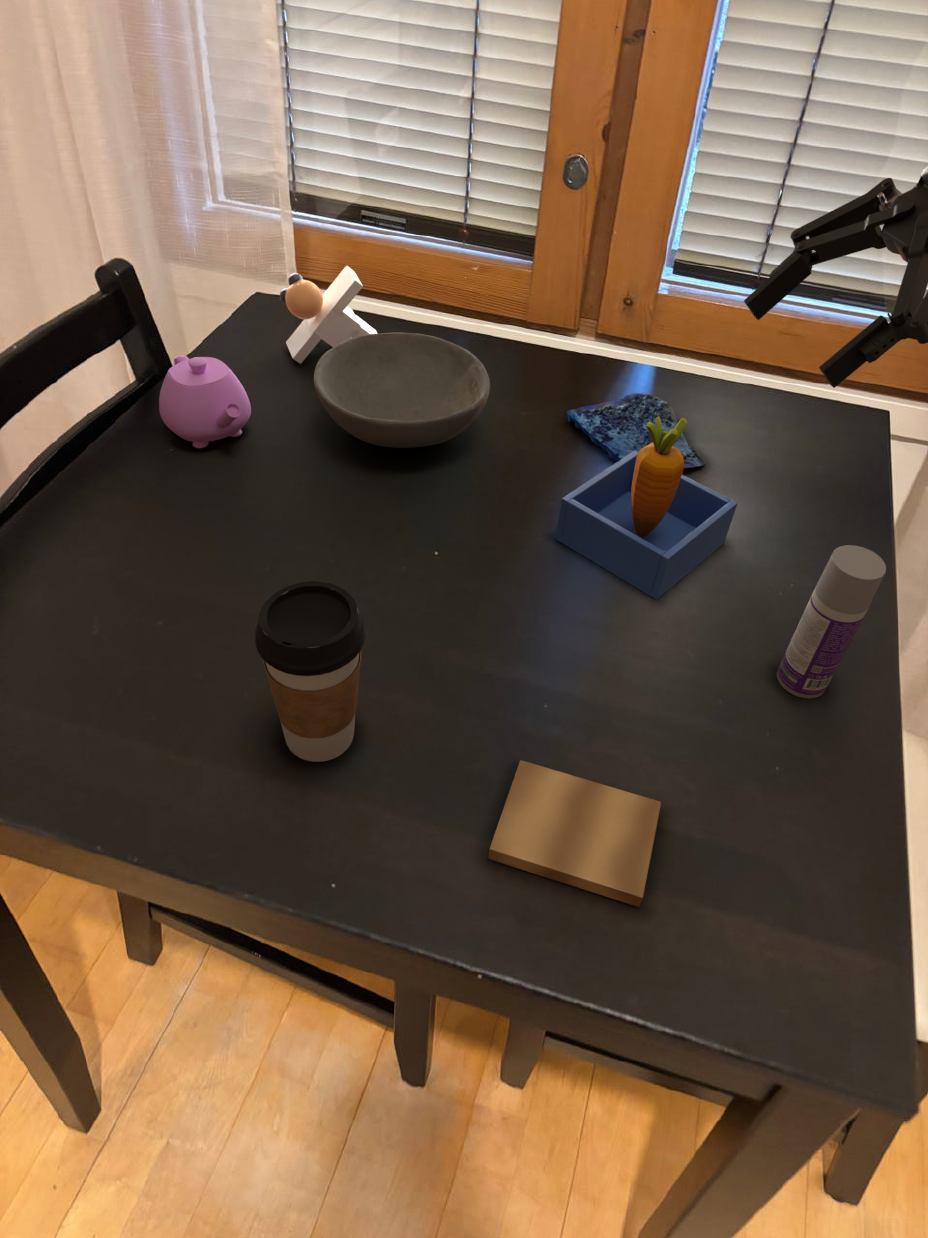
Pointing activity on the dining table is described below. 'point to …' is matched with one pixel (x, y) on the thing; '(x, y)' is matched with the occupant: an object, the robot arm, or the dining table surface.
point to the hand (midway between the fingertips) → (786, 342)
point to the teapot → (203, 400)
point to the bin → (667, 553)
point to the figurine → (323, 313)
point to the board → (577, 832)
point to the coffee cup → (313, 665)
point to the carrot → (656, 477)
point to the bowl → (401, 388)
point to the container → (830, 620)
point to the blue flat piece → (630, 426)
